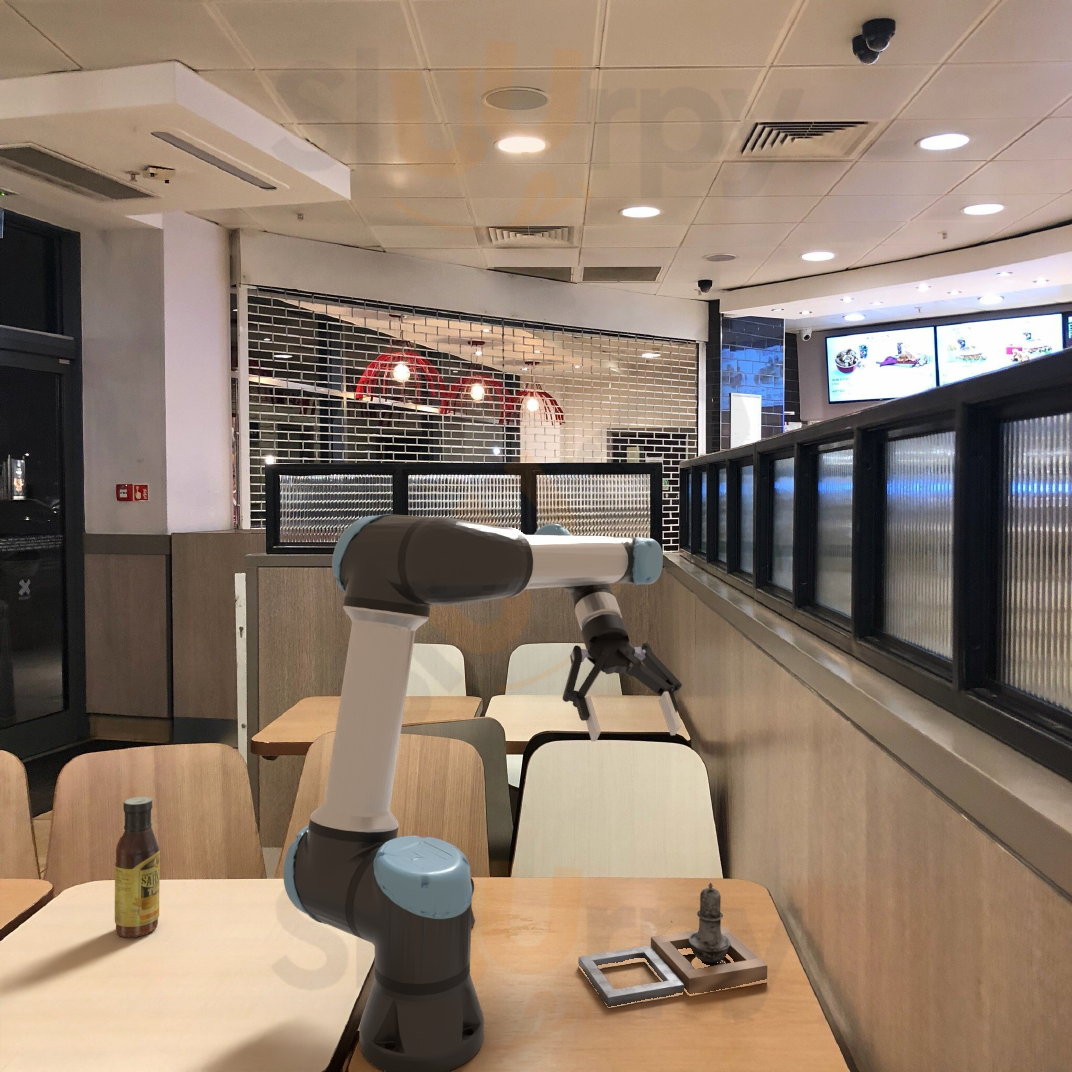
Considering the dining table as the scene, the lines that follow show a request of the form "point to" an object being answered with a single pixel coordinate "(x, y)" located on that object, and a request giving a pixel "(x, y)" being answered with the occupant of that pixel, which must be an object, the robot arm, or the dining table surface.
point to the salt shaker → (709, 930)
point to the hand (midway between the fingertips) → (636, 734)
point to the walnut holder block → (711, 977)
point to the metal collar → (634, 993)
